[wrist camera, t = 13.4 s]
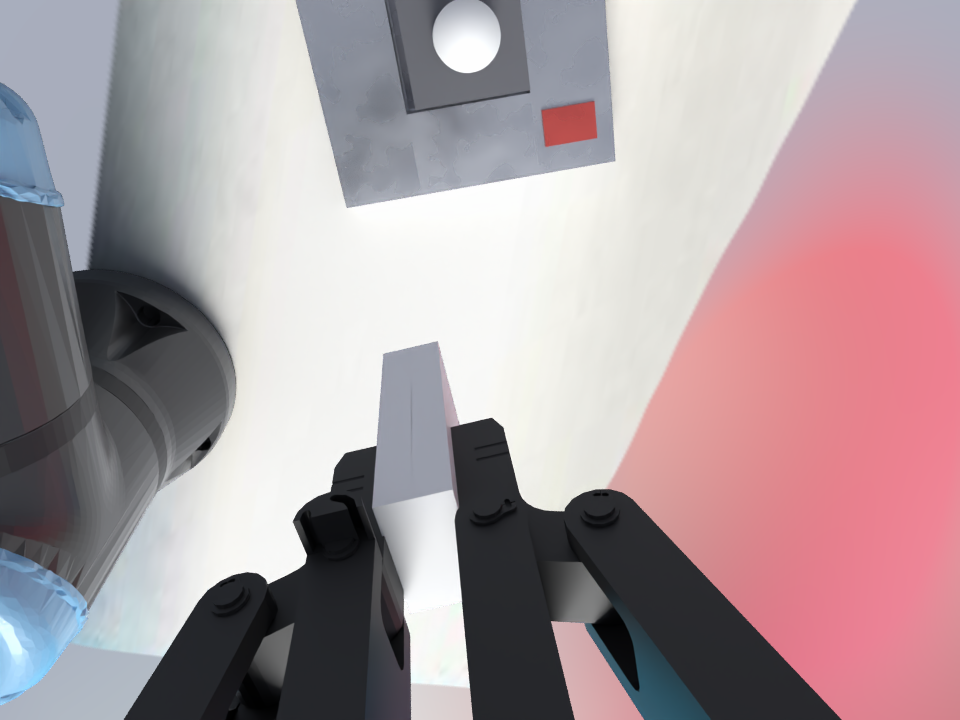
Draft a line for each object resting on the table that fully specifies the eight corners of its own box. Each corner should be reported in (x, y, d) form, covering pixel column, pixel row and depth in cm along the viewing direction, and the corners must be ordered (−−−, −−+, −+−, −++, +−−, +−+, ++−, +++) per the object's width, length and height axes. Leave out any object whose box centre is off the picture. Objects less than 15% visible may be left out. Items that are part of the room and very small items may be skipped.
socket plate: (350, 198, 42) (346, 208, 39) (276, -109, 35) (265, -120, 32) (605, 154, 42) (616, 161, 39) (582, -163, 35) (594, -177, 32)
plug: (417, 96, 39) (414, 117, 29) (397, -11, 36) (387, -29, 27) (510, 80, 39) (540, 95, 29) (497, -29, 36) (524, -53, 27)
